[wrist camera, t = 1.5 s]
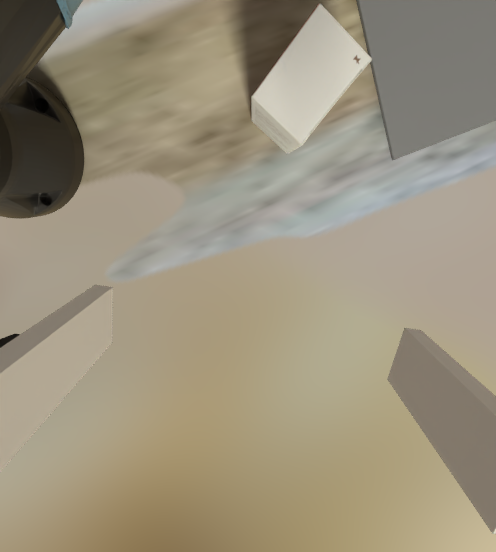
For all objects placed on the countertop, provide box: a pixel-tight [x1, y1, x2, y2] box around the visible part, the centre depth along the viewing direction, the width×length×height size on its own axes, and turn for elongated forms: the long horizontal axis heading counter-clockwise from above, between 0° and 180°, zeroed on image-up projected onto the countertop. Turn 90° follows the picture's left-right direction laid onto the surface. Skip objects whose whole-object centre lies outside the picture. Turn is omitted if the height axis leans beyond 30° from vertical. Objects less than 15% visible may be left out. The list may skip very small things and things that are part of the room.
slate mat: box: [356, 0, 496, 160], centre depth 31 cm, size 18×16×1 cm
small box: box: [251, 3, 372, 154], centre depth 28 cm, size 8×6×10 cm
